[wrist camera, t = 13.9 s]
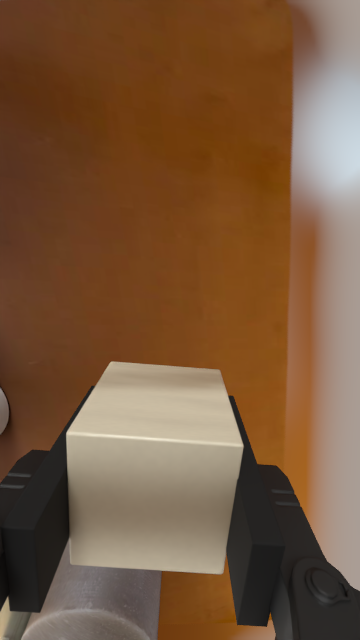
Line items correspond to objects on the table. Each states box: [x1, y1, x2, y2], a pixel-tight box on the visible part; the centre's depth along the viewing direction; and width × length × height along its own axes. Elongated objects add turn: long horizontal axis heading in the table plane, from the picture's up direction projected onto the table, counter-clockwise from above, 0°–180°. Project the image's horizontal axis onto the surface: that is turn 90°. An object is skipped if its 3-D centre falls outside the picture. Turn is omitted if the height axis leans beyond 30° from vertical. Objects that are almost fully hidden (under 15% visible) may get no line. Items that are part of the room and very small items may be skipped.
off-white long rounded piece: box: [0, 597, 32, 640], centre depth 32 cm, size 6×5×8 cm
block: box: [66, 362, 244, 574], centre depth 11 cm, size 5×5×5 cm
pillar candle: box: [21, 540, 162, 640], centre depth 25 cm, size 10×10×15 cm
